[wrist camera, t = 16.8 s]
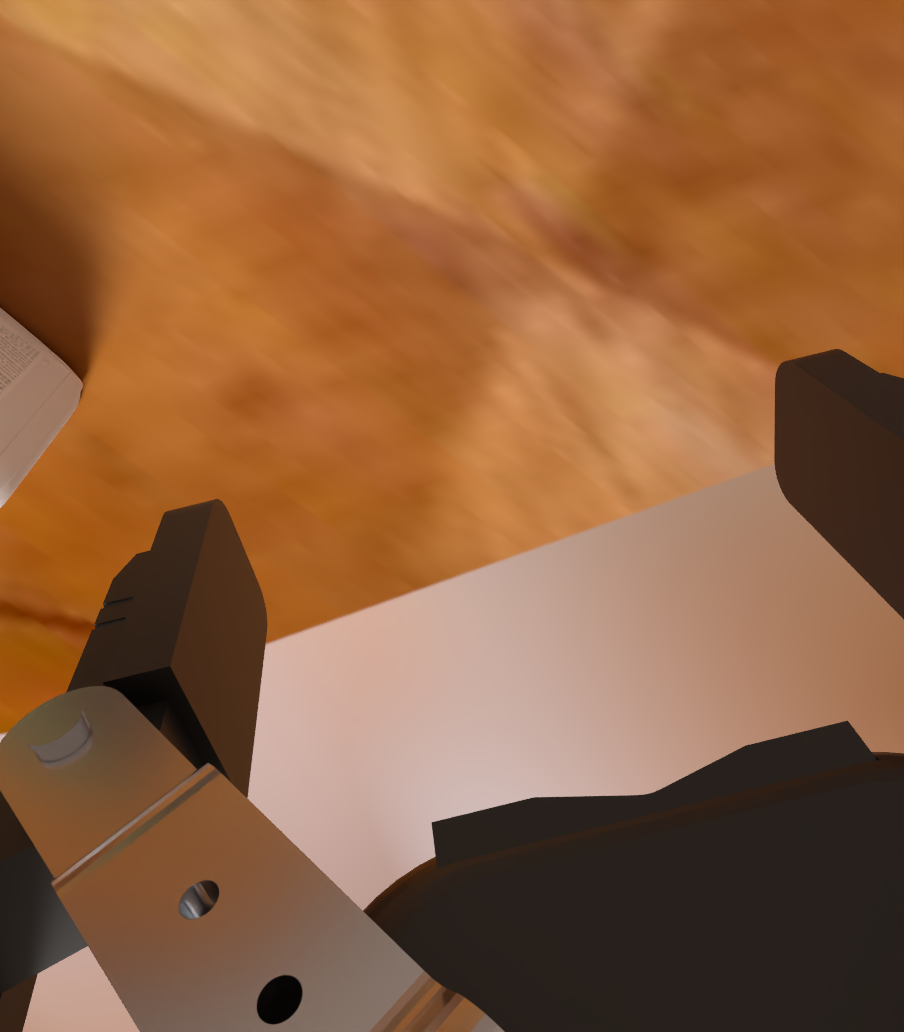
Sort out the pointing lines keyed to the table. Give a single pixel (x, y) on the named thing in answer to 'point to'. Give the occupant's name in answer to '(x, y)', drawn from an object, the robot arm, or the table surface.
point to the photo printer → (29, 401)
